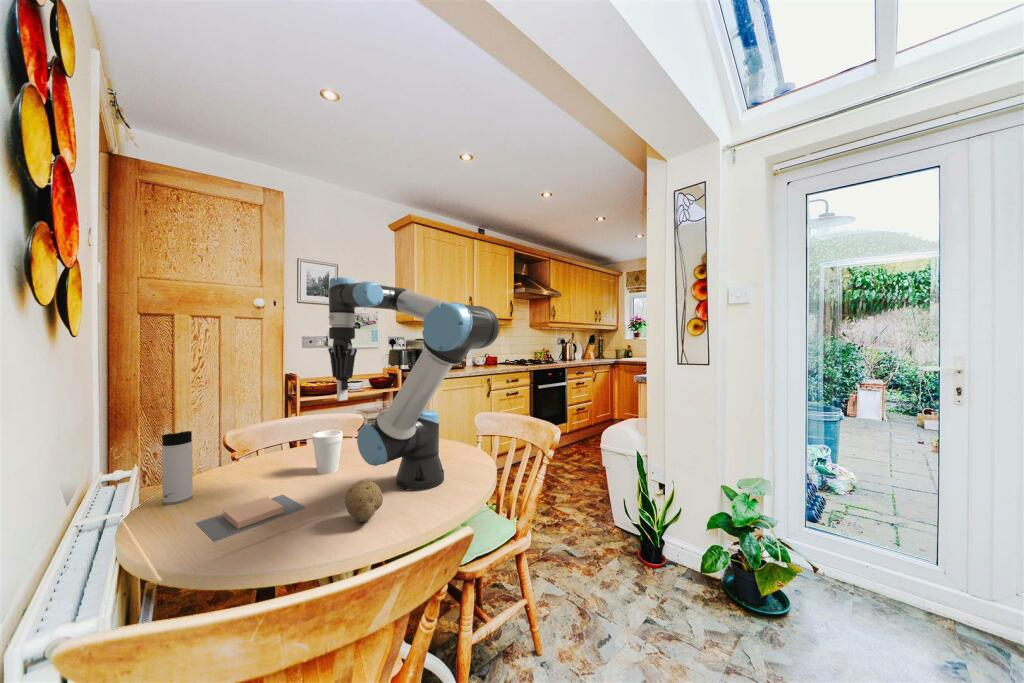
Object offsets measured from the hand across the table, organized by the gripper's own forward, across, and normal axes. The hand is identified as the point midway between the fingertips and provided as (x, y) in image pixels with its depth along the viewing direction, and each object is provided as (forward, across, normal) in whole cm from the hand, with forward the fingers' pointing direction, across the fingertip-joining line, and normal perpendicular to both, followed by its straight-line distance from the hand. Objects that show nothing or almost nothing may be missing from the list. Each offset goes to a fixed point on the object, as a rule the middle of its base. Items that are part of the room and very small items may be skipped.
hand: (342, 399), depth 117 cm
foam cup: (+27, -13, +2) cm, 30 cm away
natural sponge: (+27, +28, -10) cm, 40 cm away
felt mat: (+26, +3, -26) cm, 37 cm away
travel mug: (+27, -24, -35) cm, 50 cm away
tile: (+25, -2, -26) cm, 36 cm away
